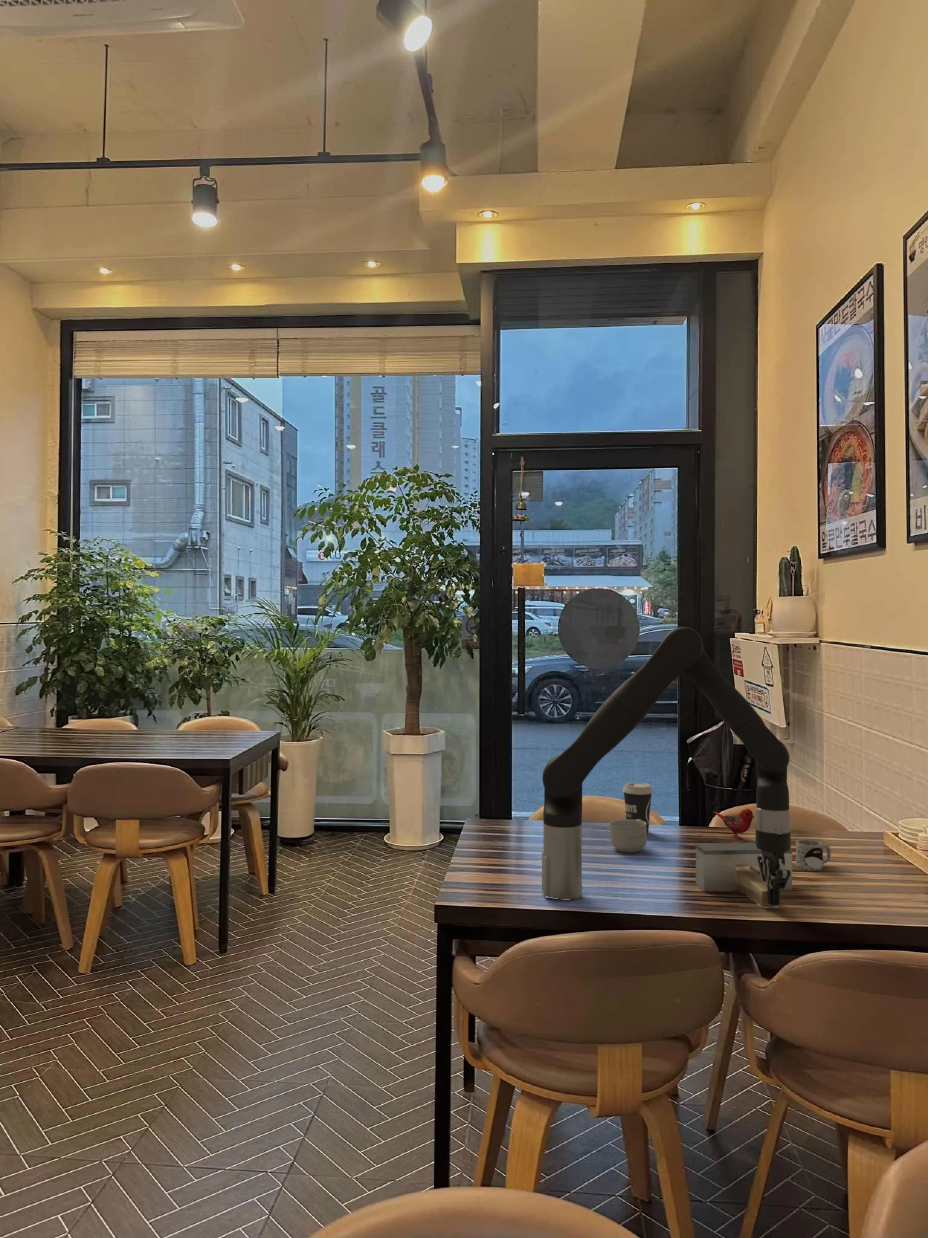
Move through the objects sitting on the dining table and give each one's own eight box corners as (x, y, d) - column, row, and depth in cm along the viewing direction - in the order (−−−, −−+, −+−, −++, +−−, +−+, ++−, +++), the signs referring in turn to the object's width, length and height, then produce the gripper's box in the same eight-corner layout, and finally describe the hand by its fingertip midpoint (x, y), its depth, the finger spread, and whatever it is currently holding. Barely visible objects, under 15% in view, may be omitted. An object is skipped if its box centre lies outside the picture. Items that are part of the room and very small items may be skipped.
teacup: (631, 857, 228) (631, 828, 228) (601, 849, 236) (601, 822, 236) (660, 848, 237) (660, 821, 237) (630, 841, 245) (630, 814, 245)
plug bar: (761, 908, 186) (761, 891, 186) (727, 879, 208) (727, 863, 208) (778, 908, 186) (778, 890, 186) (742, 879, 208) (742, 863, 208)
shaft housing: (704, 891, 198) (704, 850, 198) (695, 883, 204) (695, 843, 204) (792, 890, 199) (792, 849, 199) (781, 882, 205) (780, 842, 205)
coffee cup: (630, 827, 263) (629, 781, 263) (658, 831, 257) (657, 784, 257) (617, 833, 255) (617, 785, 255) (645, 837, 249) (645, 789, 249)
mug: (807, 872, 214) (807, 846, 214) (790, 865, 221) (790, 840, 221) (839, 869, 217) (838, 844, 217) (821, 862, 223) (821, 838, 223)
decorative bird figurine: (750, 844, 242) (750, 810, 242) (709, 831, 258) (709, 799, 258) (758, 843, 243) (757, 810, 243) (717, 830, 259) (716, 798, 259)
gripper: (745, 821, 191) (746, 895, 190) (768, 835, 178) (769, 915, 177) (776, 821, 191) (777, 895, 191) (802, 834, 178) (803, 914, 178)
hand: (773, 904), depth 184 cm, fingers closed
